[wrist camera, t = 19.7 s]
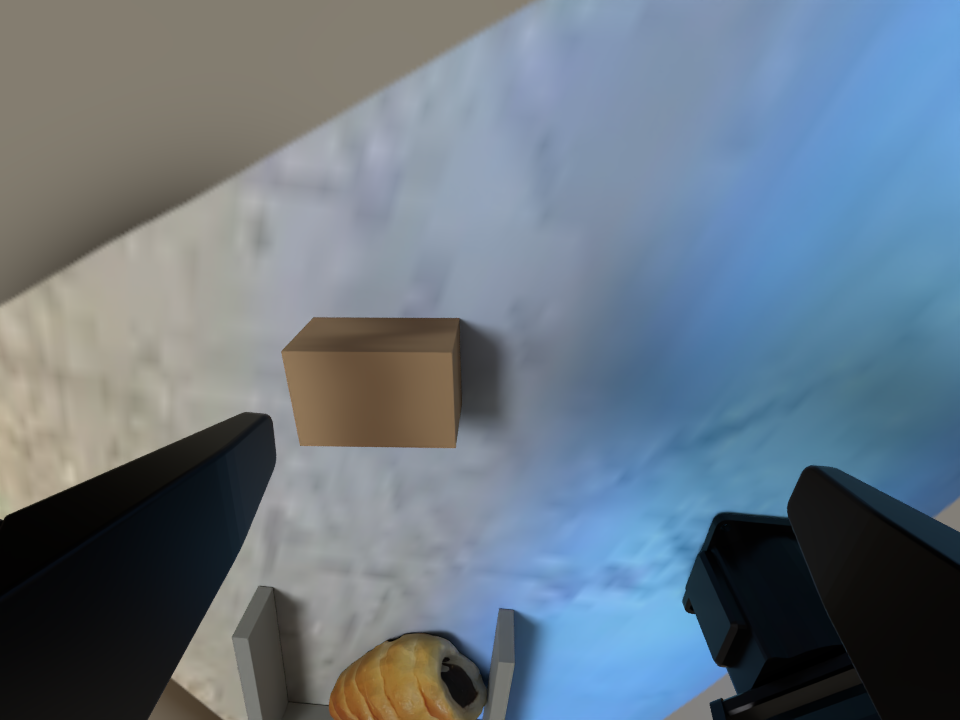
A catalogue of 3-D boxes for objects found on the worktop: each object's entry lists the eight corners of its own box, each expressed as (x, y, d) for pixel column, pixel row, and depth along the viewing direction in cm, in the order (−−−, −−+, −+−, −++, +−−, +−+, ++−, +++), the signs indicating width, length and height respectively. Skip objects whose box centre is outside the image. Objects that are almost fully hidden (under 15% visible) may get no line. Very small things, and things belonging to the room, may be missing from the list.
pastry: (376, 722, 33) (361, 792, 29) (309, 664, 31) (284, 732, 27) (497, 678, 30) (496, 748, 27) (434, 611, 28) (424, 679, 25)
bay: (513, 609, 28) (514, 663, 25) (493, 728, 32) (492, 783, 30) (258, 586, 27) (231, 637, 25) (277, 708, 32) (256, 762, 30)
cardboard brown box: (459, 316, 20) (452, 352, 17) (462, 401, 22) (455, 448, 19) (314, 315, 21) (281, 351, 18) (328, 399, 22) (300, 445, 19)
